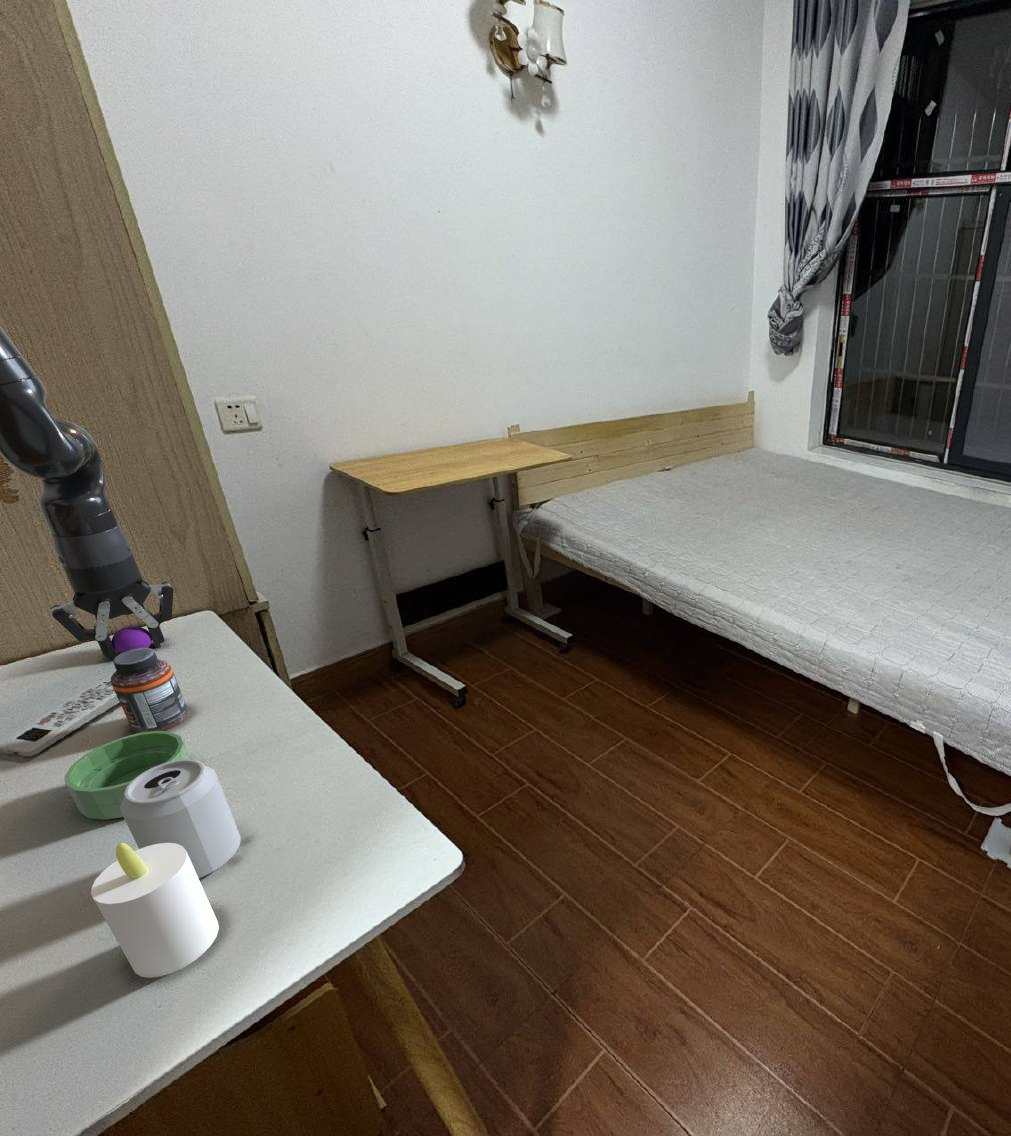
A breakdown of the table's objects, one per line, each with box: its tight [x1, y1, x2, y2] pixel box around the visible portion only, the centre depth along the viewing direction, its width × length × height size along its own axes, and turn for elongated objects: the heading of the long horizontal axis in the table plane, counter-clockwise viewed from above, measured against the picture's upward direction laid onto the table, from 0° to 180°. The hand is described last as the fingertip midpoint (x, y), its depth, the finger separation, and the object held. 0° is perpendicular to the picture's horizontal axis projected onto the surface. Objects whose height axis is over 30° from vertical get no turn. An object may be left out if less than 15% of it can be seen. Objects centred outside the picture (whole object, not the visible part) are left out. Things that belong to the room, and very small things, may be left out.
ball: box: [111, 625, 153, 654], centre depth 99 cm, size 5×5×5 cm
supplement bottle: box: [110, 647, 189, 734], centre depth 84 cm, size 6×6×11 cm
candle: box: [90, 842, 220, 979], centre depth 57 cm, size 6×6×15 cm
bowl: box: [64, 730, 191, 821], centre depth 75 cm, size 10×10×5 cm
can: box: [120, 758, 242, 879], centre depth 66 cm, size 8×8×12 cm
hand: (136, 650), depth 100 cm, fingers closed on ball, 4 cm apart
